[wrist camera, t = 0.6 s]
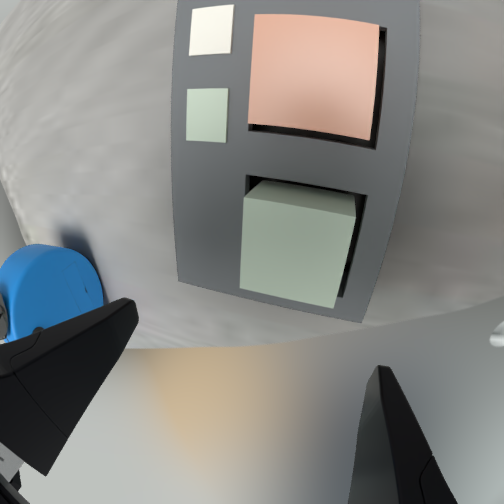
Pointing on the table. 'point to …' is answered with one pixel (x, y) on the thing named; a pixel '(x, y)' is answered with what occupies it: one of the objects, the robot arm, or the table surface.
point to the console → (279, 143)
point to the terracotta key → (314, 73)
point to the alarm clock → (45, 289)
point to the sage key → (295, 241)
